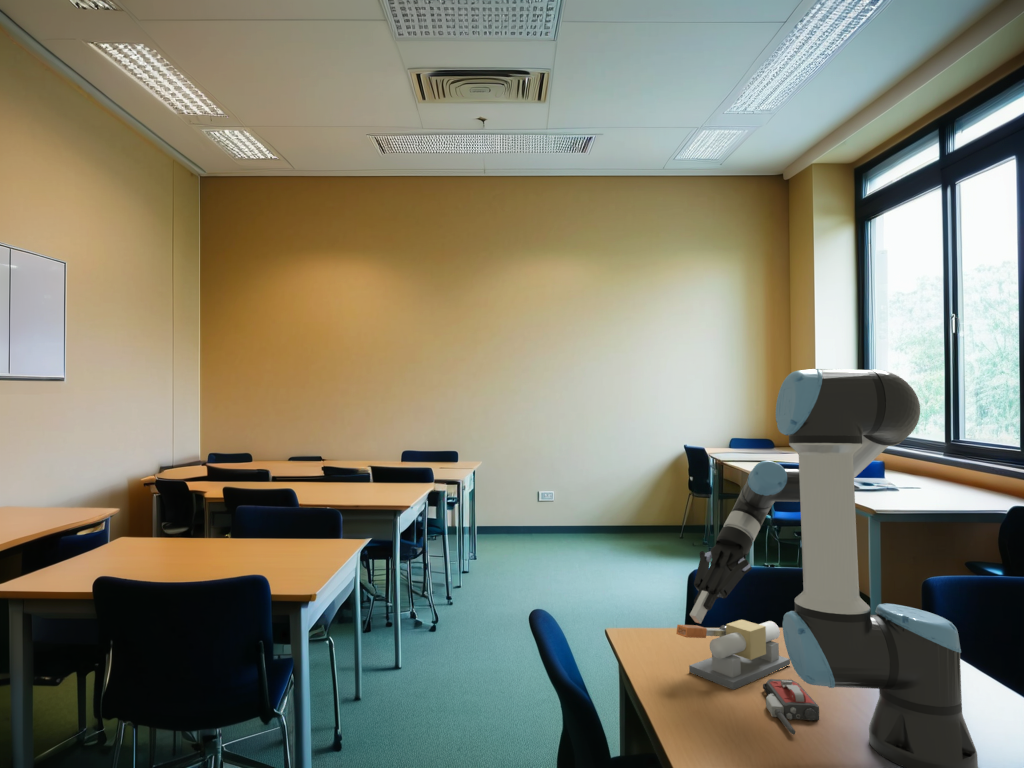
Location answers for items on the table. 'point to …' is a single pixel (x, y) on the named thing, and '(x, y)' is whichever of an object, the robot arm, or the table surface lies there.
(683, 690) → the table surface
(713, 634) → the valve lever
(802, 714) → the walkie-talkie
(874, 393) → the robot arm
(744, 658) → the valve rig
